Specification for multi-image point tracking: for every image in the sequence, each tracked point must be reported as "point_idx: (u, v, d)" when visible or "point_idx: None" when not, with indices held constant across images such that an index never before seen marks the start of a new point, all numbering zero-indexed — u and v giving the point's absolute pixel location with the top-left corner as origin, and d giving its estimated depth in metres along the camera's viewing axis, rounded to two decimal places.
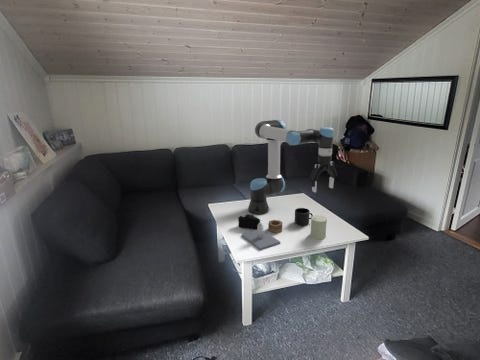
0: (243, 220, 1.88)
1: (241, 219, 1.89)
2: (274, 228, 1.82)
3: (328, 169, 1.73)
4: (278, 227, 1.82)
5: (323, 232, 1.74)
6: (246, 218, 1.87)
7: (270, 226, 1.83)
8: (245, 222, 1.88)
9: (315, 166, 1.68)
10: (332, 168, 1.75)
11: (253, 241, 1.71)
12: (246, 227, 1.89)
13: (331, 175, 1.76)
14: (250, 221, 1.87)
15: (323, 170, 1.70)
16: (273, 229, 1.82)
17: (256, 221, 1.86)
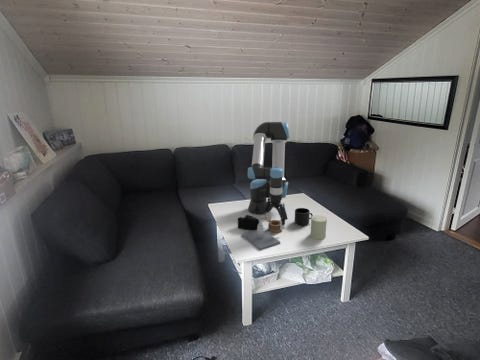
0: (242, 221, 1.87)
1: (240, 220, 1.87)
2: (274, 228, 1.82)
3: None
4: (278, 227, 1.82)
5: (323, 232, 1.74)
6: (245, 219, 1.86)
7: (270, 226, 1.83)
8: (244, 223, 1.87)
9: None
10: None
11: (253, 241, 1.71)
12: (245, 228, 1.88)
13: None
14: (249, 222, 1.86)
15: (272, 206, 1.82)
16: (273, 229, 1.82)
17: (255, 222, 1.84)
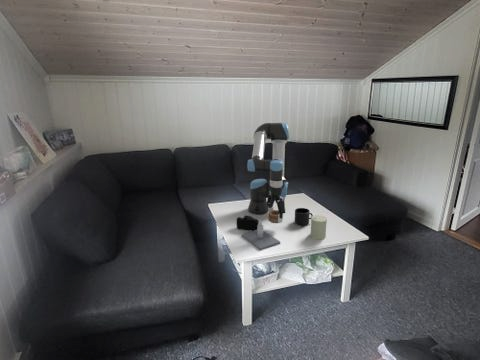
0: (241, 221, 1.87)
1: (239, 220, 1.87)
2: (274, 218, 1.81)
3: None
4: None
5: (323, 232, 1.74)
6: (244, 219, 1.85)
7: (270, 216, 1.82)
8: (243, 223, 1.87)
9: None
10: None
11: (253, 241, 1.71)
12: (244, 228, 1.87)
13: None
14: (248, 222, 1.85)
15: (273, 199, 1.82)
16: (273, 219, 1.81)
17: (254, 222, 1.84)
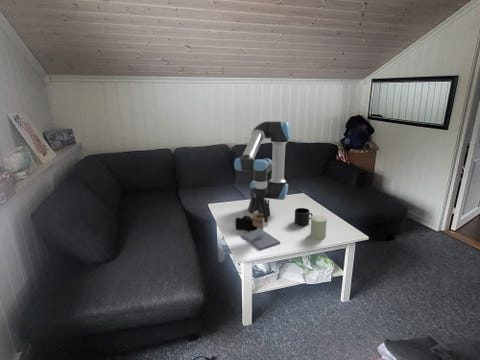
0: (240, 222, 1.86)
1: (238, 221, 1.87)
2: (258, 221, 1.68)
3: (261, 204, 1.66)
4: None
5: (323, 232, 1.74)
6: (243, 220, 1.85)
7: (254, 220, 1.69)
8: (242, 224, 1.86)
9: None
10: None
11: (253, 241, 1.71)
12: (243, 229, 1.87)
13: None
14: (247, 223, 1.85)
15: (257, 201, 1.69)
16: (257, 223, 1.68)
17: None
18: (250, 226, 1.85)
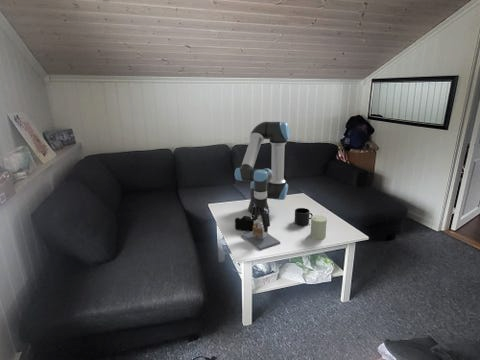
0: (240, 222, 1.86)
1: (238, 221, 1.86)
2: (258, 231, 1.69)
3: (261, 213, 1.68)
4: None
5: (323, 232, 1.74)
6: (243, 220, 1.85)
7: (254, 229, 1.70)
8: (242, 224, 1.86)
9: None
10: None
11: (253, 241, 1.71)
12: (243, 229, 1.87)
13: None
14: (247, 223, 1.85)
15: (257, 211, 1.71)
16: (257, 233, 1.70)
17: (253, 223, 1.83)
18: (250, 226, 1.85)
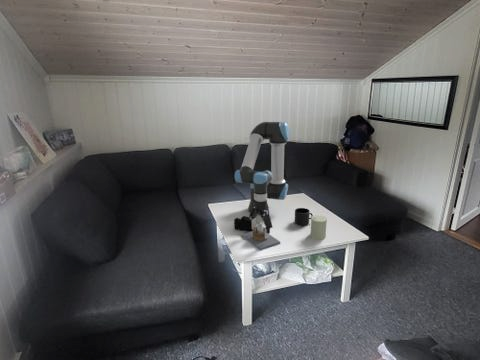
0: (239, 222, 1.86)
1: (237, 221, 1.86)
2: (258, 235, 1.70)
3: (262, 216, 1.68)
4: (263, 235, 1.70)
5: (323, 232, 1.74)
6: (242, 220, 1.84)
7: (254, 234, 1.71)
8: (241, 224, 1.86)
9: None
10: None
11: (253, 241, 1.71)
12: (242, 229, 1.86)
13: None
14: (246, 223, 1.84)
15: (257, 213, 1.71)
16: (258, 237, 1.70)
17: None
18: (249, 226, 1.84)
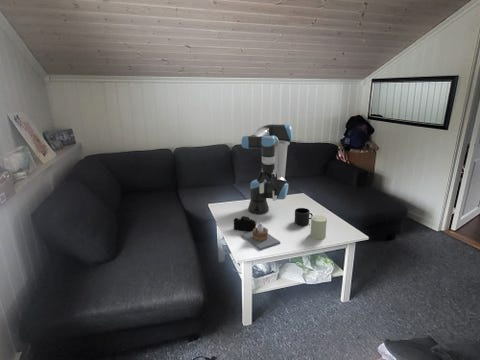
0: (238, 222, 1.85)
1: (236, 221, 1.86)
2: (258, 235, 1.70)
3: None
4: (263, 235, 1.70)
5: (323, 232, 1.74)
6: (241, 220, 1.84)
7: (254, 234, 1.71)
8: (240, 224, 1.85)
9: None
10: None
11: (253, 241, 1.71)
12: (241, 229, 1.86)
13: None
14: (246, 223, 1.84)
15: (265, 176, 1.76)
16: (258, 237, 1.70)
17: (252, 223, 1.83)
18: (248, 227, 1.84)
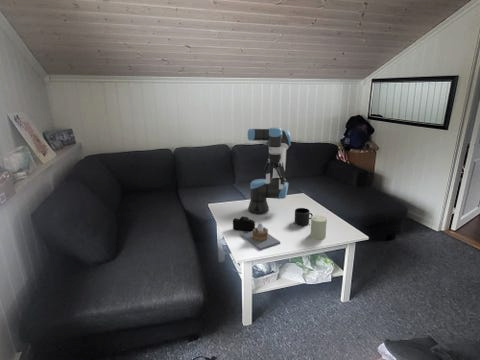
0: (238, 222, 1.85)
1: (236, 221, 1.86)
2: (258, 235, 1.70)
3: None
4: (263, 235, 1.70)
5: (323, 232, 1.74)
6: (241, 220, 1.84)
7: (254, 234, 1.71)
8: (240, 224, 1.85)
9: None
10: None
11: (253, 241, 1.71)
12: (241, 229, 1.86)
13: None
14: (245, 223, 1.84)
15: (271, 166, 1.84)
16: (258, 237, 1.70)
17: (251, 223, 1.83)
18: (247, 227, 1.84)
